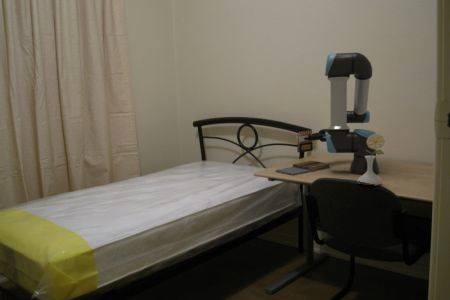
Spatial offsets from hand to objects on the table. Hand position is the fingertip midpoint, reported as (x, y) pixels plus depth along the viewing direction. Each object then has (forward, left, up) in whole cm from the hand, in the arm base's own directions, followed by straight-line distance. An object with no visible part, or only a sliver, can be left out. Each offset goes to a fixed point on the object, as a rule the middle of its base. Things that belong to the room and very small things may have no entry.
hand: (298, 139), depth 240 cm
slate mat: (-1, +6, -18) cm, 19 cm away
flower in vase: (-49, +1, -18) cm, 53 cm away
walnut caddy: (-1, -9, -18) cm, 20 cm away
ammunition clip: (0, -6, -8) cm, 10 cm away
